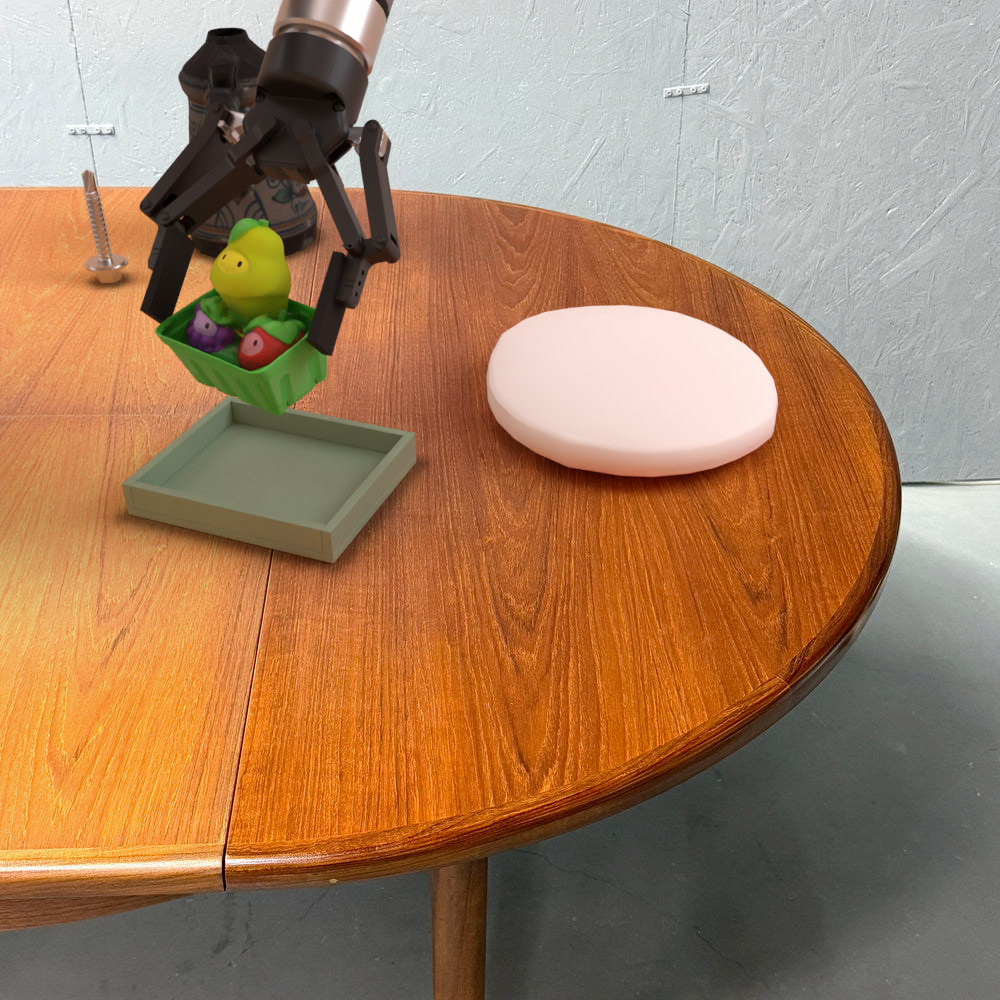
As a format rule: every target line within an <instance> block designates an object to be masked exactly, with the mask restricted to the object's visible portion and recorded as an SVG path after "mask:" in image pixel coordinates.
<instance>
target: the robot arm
mask: <svg viewBox="0 0 1000 1000" xmlns="http://www.w3.org/2000/svg"><path fill="white" fill-rule="evenodd" d="M394 1H395V0H281V2H280V6H279V9H278V11H277V14H276V18H275V21H274V24H273V27H272V33H271V34H272V38H271V39H270V41H269V42H268V44H267V47H266V50H265V51H266V53H265V56H264V59H263V63H262V66H261V69H260V72H259V75H258V78H257V85H256V99H255V102H254V104H253V106H252V107H251V108H250V109H249V110H248V112H247V113H246V114H244V113H239V112H235V111H230V110H228V109H227V108H226V106H225V105H224V104H223V103H222V102H215V103H213V104H212V105H211V107H210V108H209V111H208V113H207V116H206V118H205V120H204V123H203V125H202V128H201V129H200V130H199V131H198V133H197V134H196V135H195V136H194V137H193V139H192V140H191V141H190V142H189V141H188V144H187V145H186V146H185V147H184V148H183V150H182V151H181V152H180V153H179V154H178V156H177V157H176V158H175V159H174V161H173V162H172V163H171V164H170V166H169V167H168V168H167V169H166V170H165V172H163V174H162V175H161V176H160V178H159V179H158V180H157V181H156V183H154V185H153V186H152V187H151V189H150V190H149V191H148V192H147V193H146V194H145V196H144V197H143V199H142V200H141V201H140V203H139V206H138V207H139V210H140V212H141V213H142V214H144V215H145V216H146V217H147V218H148V219H149V220H151V221H152V222H154V224H156V225H157V232H156V235H155V236H154V237H155V238H154V241H153V243H152V247H151V250H150V253H149V256H148V259H147V269H149V270H150V271H151V275H150V278H149V281H148V284H147V287H146V290H145V294H144V296H143V299H142V302H141V305H140V308H139V311H140V312H142V313H143V314H145V316H148V317H149V318H151V320H153V321H155V322H156V323H158V324H159V325H160V324H161V323H162V322H164V321H165V320H166V319H167V318H168V317H170V316H172V315H174V314H175V313H174V312H175V309H176V307H177V303H178V302H179V297H180V295H181V294H180V293H181V292H182V288H183V286H184V282H185V279H186V276H187V273H188V269H189V266H190V263H191V261H192V258H193V255H194V252H195V249H196V248H195V245H196V243H195V242H194V241H193V240H192V238H191V237H189V236H191V235H190V234H191V233H192V232H194V231H195V230H196V229H197V228H199V227H200V226H201V225H202V224H203V223H205V222H206V221H207V220H208V219H209V218H211V217H212V216H213V215H214V214H216V213H217V212H218V211H219V210H220V209H222V208H223V207H224V206H225V205H227V204H228V203H229V202H230V201H231V200H233V199H234V198H235V197H236V196H237V195H239V194H240V193H241V192H242V191H244V190H245V189H246V188H247V187H248V186H250V185H257V184H259V183H260V182H262V181H263V180H264V179H265V178H267V177H268V176H269V177H270V178H271V179H272V180H280V181H282V180H290V179H292V180H294V181H296V182H298V183H302V184H307V185H310V183H311V182H313V181H316V184H317V186H318V188H319V191H320V192H321V195H322V197H323V200H324V202H325V204H326V207H327V209H328V211H329V214H330V216H331V218H332V220H333V223H334V225H335V227H336V230H337V232H338V234H339V237H340V239H341V242H342V244H341V246H342V247H343V249H344V250H345V251H346V254H345V253H344V252H341V251H335V250H333V251H332V252H331V257H330V259H329V263H328V266H327V270H326V272H325V276H324V280H323V281H322V282H323V283H322V285H321V290H320V292H319V295H318V299H317V302H316V306H315V308H316V309H315V312H314V315H313V319H312V322H311V325H310V329H309V332H308V335H307V339H306V341H307V342H308V343H309V344H310V345H312V346H313V347H314V348H315V349H316V350H318V351H319V352H320V353H321V354H323V355H327V357H328V356H329V357H332V356H333V354H334V350H335V346H336V344H337V340H338V338H339V337H338V336H339V333H340V330H341V327H342V323H343V321H344V317H345V314H346V311H347V309H349V310H355V309H356V308H357V307H358V305H359V303H360V300H361V297H362V294H363V291H364V288H365V284H366V281H367V277H368V274H369V271H370V269H371V268H372V267H373V266H374V265H376V264H380V263H385V262H387V264H390V265H391V264H392V265H393V264H396V263H398V262H399V261H400V258H401V256H402V255H401V247H400V239H399V233H398V229H397V228H398V227H397V222H396V216H395V209H394V202H393V196H392V190H391V185H390V178H389V173H388V172H389V171H388V163H389V158H390V154H391V149H392V141H391V139H390V138H389V136H388V134H387V133H386V131H385V129H384V128H383V127H382V125H381V124H380V122H379V121H378V120H377V119H369V120H367V121H365V123H364V124H363V126H355V125H356V123H357V122H358V120H359V116H360V113H361V110H362V106H363V104H364V100H365V98H366V97H365V96H366V94H367V90H368V87H369V76H370V75H371V74H372V71H373V70H374V69H373V68H374V66H375V62H376V59H377V56H378V52H379V49H380V46H381V43H382V40H383V36H384V33H385V30H386V27H387V23H388V20H389V16H390V13H391V10H392V7H393V4H394ZM243 133H245V136H244V137H243V138H241V139H240V138H239V136H240V135H241V134H243ZM233 143H234V145H233ZM232 145H233V146H232ZM352 148H353V150H354V151H355V153H356V154H357V156H358V158H359V159H358V160H359V167H360V174H361V178H362V179H361V180H362V186H363V193H364V198H365V203H366V204H365V205H366V212H367V218H368V224H369V225H368V226H369V231H370V237H368V238H367V237H366V234H365V233H364V230H363V228H362V225H361V223H360V221H359V219H358V217H357V214H356V212H355V210H354V207H353V205H352V203H351V200H350V198H349V195H348V193H347V192H346V189H345V184H344V181H343V180H342V178H341V175H340V172H339V170H338V169H337V165H336V163H337V162H338V161H340V160H341V159H342V158H343V157H344V156H345V155H346V154H347V153H349V152H350V151H351V149H352ZM251 154H252V156H253V159H254V161H255V164H253V165H251V164H249V163H248V162H247V160H246V159H247V158H248V157H249V156H250V155H251ZM226 155H227V157H226V158H225V156H226ZM224 158H225V159H224ZM223 159H224V160H223ZM222 160H223V161H222Z"/></svg>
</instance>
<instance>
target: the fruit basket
mask: <svg viewBox="0 0 1000 1000" xmlns="http://www.w3.org/2000/svg"><path fill="white" fill-rule="evenodd" d="M268 224H269V222H268V221H267V220H264V219H259V221H256V220H254V219H251V218H245V219H242V220H240V221H238V222H237V224H236V225H235V226H234V227H233V229H232V231H231V234H230V237H229V239H228V246H227V247H226V248H225V249H224V250H223V251H222V252H221V253H220V254H219V256H218V257H217V258H215V260H214V262H213V264H212V266H211V268H210V273H209V281H210V283H211V286H212V288H211V289H210V290H208V291H206V292H205V293H203V294H202V295H200V296H199V297H198V298H195V299H194V300H193V301H191V302H190V303H187V305H185V306H184V307H182V308H180V309H179V310H177V312H175V313H173V315H172V316H170V317H168V318H167V319H166V320H165V321H164V322H162V323H161V324H160V323H159V324H158V325H157V326H156V327H155V330H154V334H155V335H156V336H157V337H158V338H159V340H161V342H162V343H163V344H164V345H166V346H168V347H169V348H170V350H171V351H172V352H173V353H174V355H175V356H176V357H177V358H178V360H179V361H180V362H181V363H182V364H183V366H184V367H185V368H186V369H187V371H188V372H189V373H190V374H191V376H192V377H193V378H194V379H195V380H196V382H197V383H199V384H202V385H204V386H206V387H209V388H215V389H216V390H217V391H218V392H220V393H222V394H225V395H226V396H232V397H235V398H239V399H240V400H241V401H243V402H245V403H248V404H250V405H252V406H255V407H261V408H262V409H263V410H264V411H266V412H268V413H271V414H273V415H275V416H280V415H282V414H283V413H284V412H285V411H286V409H287V408H291V407H292V406H293V405H295V404H297V403H298V402H299V401H300V400H301V399H303V398H304V397H305V396H307V395H308V394H309V393H310V392H311V391H312V390H313V389H314V388H315V386H316V385H318V384H320V383H322V382H323V381H325V380H326V379H327V377H328V373H327V372H328V355H323V354H321V353H320V352H319V351H318V350H316V349H315V348H314V347H313V346H312V345H310V344H309V343H308V342H307V341H306V339H307V335H308V332H309V329H310V325H311V322H312V319H313V315H314V312H315V309H316V307H313V306H310V305H308V304H305V303H302V302H299V301H296V300H294V299H291V298H289V296H290V294H291V289H292V276H291V275H292V274H291V270H290V267H289V265H288V263H287V260H286V256H285V255H284V246H283V242H282V240H281V238H280V236H279V235H278V234H276V233H275V232H274V231H273V230H271V229H270V228H268Z"/></svg>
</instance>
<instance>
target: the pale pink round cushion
mask: <svg viewBox="0 0 1000 1000" xmlns="http://www.w3.org/2000/svg"><path fill="white" fill-rule="evenodd" d="M485 378H486V392H487V393H486V394H487V402H488V405H489V409H490V411H491V413H492V414H493V416H494V418H495V420H496V422H497V423H498V424H499V425H500V426H501V427H502V428H503V430H505V431H506V432H507V433H508V434H509V435H510V436H511V438H512V439H514V440H515V441H517V442H519V443H520V444H521V445H523V446H524V447H526V448H528V449H529V450H531V451H532V452H534V453H535V454H537V455H539V456H542V457H543V458H546V459H549V460H551V461H553V462H556V463H558V464H560V465H562V466H564V467H567V468H570V469H576V470H577V469H578V470H583V471H589V472H596V473H602V474H607V475H614V476H620V477H621V476H622V477H647V478H656V477H669V476H678V475H679V476H680V475H689V474H694V473H698V472H703V471H707V470H711V469H716V468H718V467H721V466H724V465H726V464H728V463H731V462H734V461H737V460H738V459H741V458H743V457H744V456H746V455H748V454H750V453H752V452H753V451H756V450H757V449H759V448H760V447H762V445H764V444H765V443H766V442H767V441H769V440H770V439H771V438H772V436H773V434H774V432H775V425H776V421H777V412H778V406H779V399H778V398H779V397H778V392H777V387H776V384H775V380H774V378H773V376H772V375H771V373H770V372H769V370H768V369H767V367H766V366H765V364H764V363H763V361H762V359H761V357H760V356H759V355H757V353H756V352H754V351H753V350H752V349H751V348H750V347H749V346H748V345H746V343H744V342H743V341H740V340H739V339H737V338H736V337H734V336H733V335H731V334H730V333H728V332H726V331H724V330H723V329H722V328H719V327H716V326H715V325H712V324H710V323H708V322H705V321H704V320H702V319H698V318H696V317H692V316H690V315H686V314H683V313H681V312H677V311H671V310H668V309H660V308H656V307H649V306H638V305H627V304H626V305H625V304H622V305H586V306H576V307H568V308H567V307H566V308H561V309H554V310H549V311H544V312H540V313H538V314H535V315H532V316H529V317H527V318H524V319H523V320H521V321H519V322H518V323H517V324H515V325H513V326H512V327H510V328H509V329H507V330H506V331H504V332H502V333H501V334H500V336H499V339H497V342H496V344H495V346H494V348H493V350H492V352H491V354H490V357H489V361H488V366H487V370H486V377H485Z"/></svg>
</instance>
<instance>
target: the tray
mask: <svg viewBox="0 0 1000 1000" xmlns="http://www.w3.org/2000/svg"><path fill="white" fill-rule="evenodd" d="M416 440H417V439H416V432H412V431H409V430H404V429H398V428H393V427H387V426H383V425H377V424H372V423H367V422H363V421H358V420H353V419H346V418H341V417H337V416H332V415H327V414H321V413H317V412H312V411H311V412H310V411H306V410H303V409H296V408H291V407H287V409H286V411H285V412H284V413H283V414H282V415H280V416H275V415H273V414H271V413H268V412H266V411H264V410H263V409H262V408H261V407H255V406H252V405H250V404H248V403H245V402H243V401H241V400H240V399H239V398H238V397H232V396H229V395H226V397H225V398H224V399H222V400H221V401H220V402H219V403H217V404H216V405H215V406H214V407H213V408H211V409H210V410H209V411H208V412H206V413H205V414H204V415H203V416H201V417H200V418H199V419H198V420H197V421H196V422H195V423H193V424H192V425H191V426H190V427H188V428H187V429H186V430H185V431H184V432H183V433H181V434H180V435H179V436H178V437H176V438H175V439H174V440H173V441H171V442H170V443H169V444H168V445H167V446H165V447H164V448H163V449H161V451H160V452H158V453H156V455H155V456H153V457H152V458H150V460H148V461H147V462H146V463H145V464H144V465H143V466H141V467H140V468H139V469H138V470H137V471H136V472H134V473H133V474H131V476H129V477H128V478H127V479H126V480H125V481H123V482H122V483H121V487H122V492H123V495H124V496H123V497H124V500H125V504H126V509H127V514H128V515H130V516H133V517H138V518H143V519H146V520H151V521H155V522H159V523H163V524H168V525H172V526H175V527H180V528H184V529H188V530H192V531H195V532H196V531H197V532H201V533H204V534H208V535H211V536H212V535H213V536H216V537H221V538H225V539H230V540H233V541H238V542H242V543H246V544H251V545H254V546H258V547H263V548H266V549H271V550H275V551H278V552H279V551H280V552H283V553H287V554H292V555H294V556H295V555H296V556H300V557H304V558H308V559H312V560H316V561H319V562H320V561H321V562H324V563H329V564H332V565H333V564H334V563H335V562H336V561H337V560H338V559H339V558H340V557H341V555H342V554H343V553H344V552H345V550H346V549H347V548H348V547H349V545H350V544H351V543H352V542H353V540H354V539H355V538H356V537H357V536H358V534H359V533H360V532H361V531H362V530H363V528H364V527H365V526H366V525H367V524H368V522H369V521H370V520H371V519H372V517H373V516H374V515H375V514H376V512H377V511H378V510H379V509H380V508H381V506H382V505H383V504H384V503H385V502H386V500H387V499H388V498H389V496H390V495H392V493H393V492H394V490H395V489H396V488H397V487H398V486H399V484H400V483H401V482H402V481H403V479H404V478H405V477H406V476H407V475H408V473H409V472H410V471H411V470H412V468H413V467H414V466H415V465H416V463H417V441H416Z"/></svg>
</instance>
